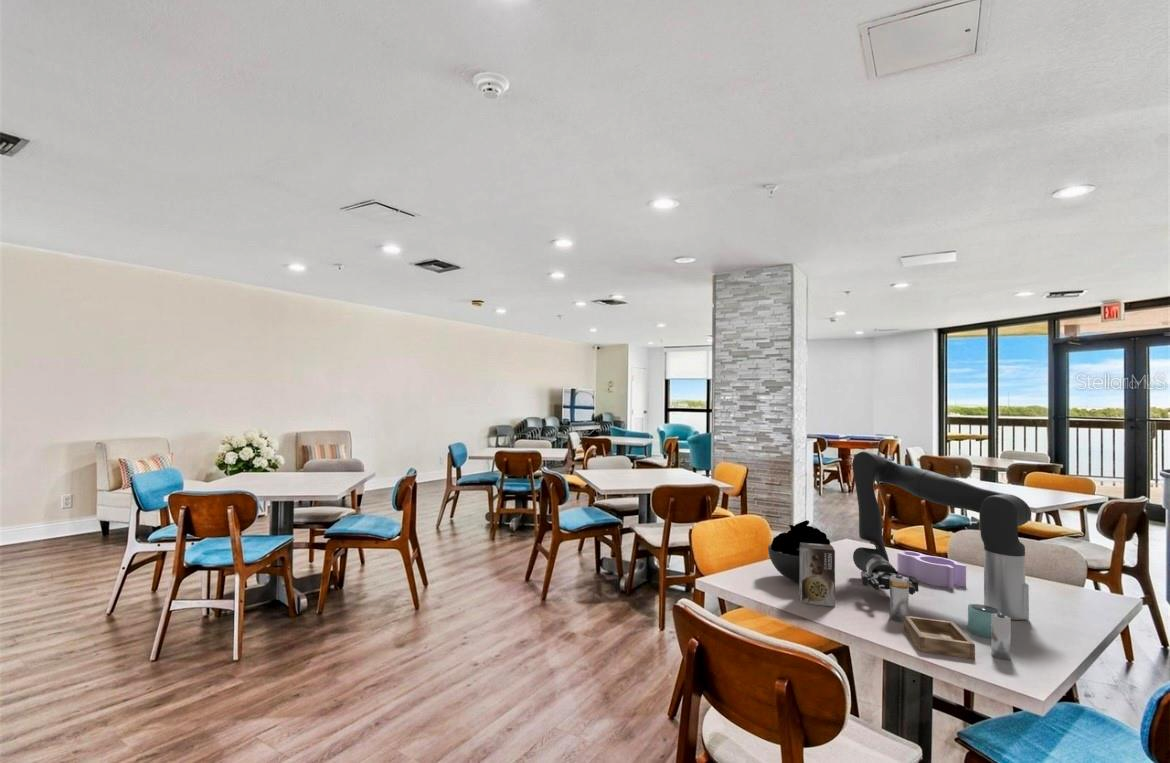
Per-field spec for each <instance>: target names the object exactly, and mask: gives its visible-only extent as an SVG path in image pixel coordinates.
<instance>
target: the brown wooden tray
mask: <svg viewBox="0 0 1170 763" xmlns="http://www.w3.org/2000/svg"><path fill="white" fill-rule="evenodd" d="M903 630H904V631H905V632H906V634H907V635H908V636H909V637H910V639H911V641H912V642H913V643H914V645H915V646H916V648H917V649H918V651H919V652H923V653H929V654H936V655H944V656H945V655H946V656H952V657H956V658H957V657H959V658H964V659H965V658H966V659H972V660H975V659H976V644H975V643H974V642H973V641H972V640H971V638H970V637H969V636H967V634H966V633H964V631H963V630H961V628H960V627H959V626H958V625H957V624H956V623H955V622H954V621H951V620H949V621H948V620H940V619H933V618H925V617H918V616H911V615H910V616H904V622H903Z"/></svg>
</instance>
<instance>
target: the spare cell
mask: <svg viewBox="0 0 1170 763" xmlns="http://www.w3.org/2000/svg"><path fill="white" fill-rule="evenodd" d="M1011 621H1012V619H1011V618H1010V617H1008V616H1005V615H1004V614H1002V613H997V614H991V638H990V639H991V642H990V645H991V652H990V653H991V656H992V657H994V658H996V659H999V660H1002V661H1003V660H1005V661H1010V660H1011V659H1012V624H1011V623H1012V622H1011Z"/></svg>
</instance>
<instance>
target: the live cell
mask: <svg viewBox="0 0 1170 763" xmlns="http://www.w3.org/2000/svg"><path fill="white" fill-rule="evenodd" d="M909 597H910V594H909V579H908V577H906V576H904V575H903V574H898V575H891V576H890V589H889V619H890V620H892V621H895V622H898V623H904V616H909V615H910V614H909V613H910V612H909V611H910V610H909V609H910V608H909V606H910V604H909V603H910V602H909V601H910V599H909Z"/></svg>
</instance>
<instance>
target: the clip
mask: <svg viewBox="0 0 1170 763" xmlns="http://www.w3.org/2000/svg"><path fill="white" fill-rule="evenodd" d="M896 564H897V565H896V566H897V569H896V571H897V572H898V574H900V575H903V576H904V575H905V576H908V577H913V578H914V577H915V578H914V579H915V580H916V581H918V582H921V583H924V584H927V585H930V586H931V585H932V586H937V587H945V588H948V589H950V590H954V589H955V588H954V586H957V587H963V586H964V588H965V587H967V565H966V564H960V562H958V561H955V560H953V559H950V558H945V557H940V556H934V555H927V554H924V553H921V552H916V551H912V550H904V552H902V551H897V563H896Z"/></svg>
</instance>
